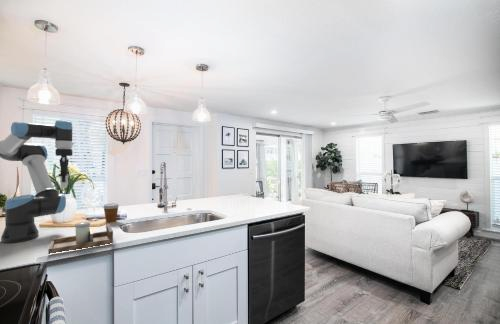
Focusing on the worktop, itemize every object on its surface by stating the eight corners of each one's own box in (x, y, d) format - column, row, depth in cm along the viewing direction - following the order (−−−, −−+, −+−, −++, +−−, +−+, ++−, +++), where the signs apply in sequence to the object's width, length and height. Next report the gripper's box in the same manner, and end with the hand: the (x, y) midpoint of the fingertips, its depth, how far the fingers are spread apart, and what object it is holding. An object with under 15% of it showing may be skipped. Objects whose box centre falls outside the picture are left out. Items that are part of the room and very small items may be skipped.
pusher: (90, 244, 122) (90, 233, 122) (89, 237, 134) (89, 227, 133) (93, 244, 123) (93, 233, 123) (91, 236, 134) (91, 227, 134)
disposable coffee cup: (101, 223, 164) (101, 206, 164) (105, 220, 174) (105, 203, 173) (116, 223, 167) (116, 205, 167) (120, 219, 176) (120, 203, 176)
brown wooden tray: (48, 255, 112) (48, 240, 112) (51, 244, 126) (51, 231, 125) (112, 244, 127) (112, 231, 127) (109, 235, 141) (109, 223, 140)
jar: (90, 243, 126) (90, 224, 125) (75, 245, 122) (74, 225, 122) (90, 239, 131) (89, 221, 131) (75, 242, 127) (75, 223, 127)
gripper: (71, 148, 127) (72, 188, 128) (72, 149, 147) (73, 184, 148) (53, 148, 123) (53, 189, 123) (57, 148, 143) (57, 184, 144)
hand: (64, 186), depth 136 cm, fingers open, 13 cm apart
